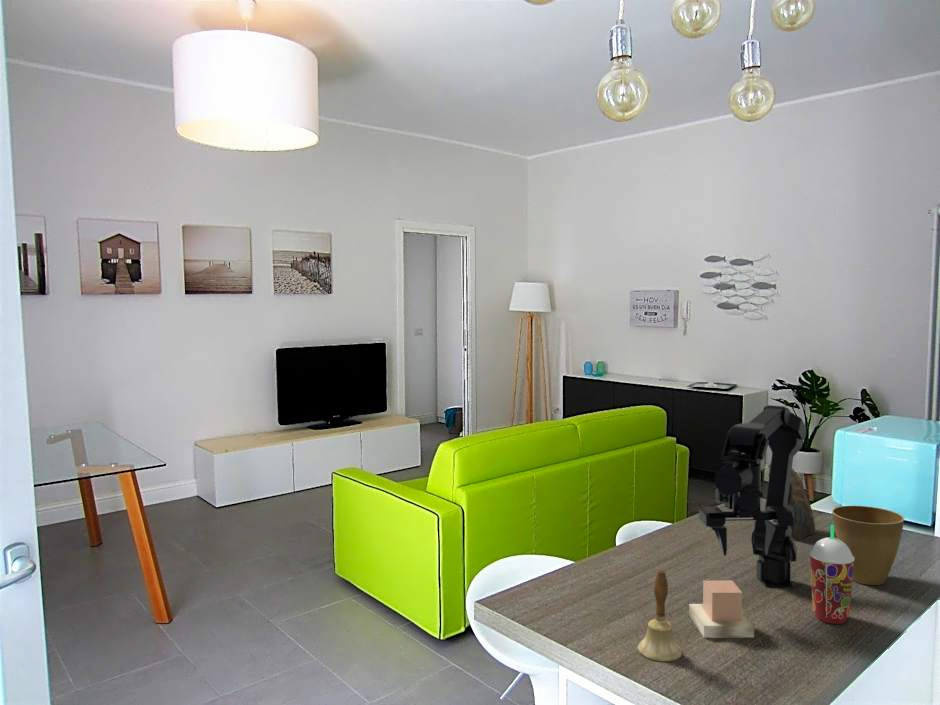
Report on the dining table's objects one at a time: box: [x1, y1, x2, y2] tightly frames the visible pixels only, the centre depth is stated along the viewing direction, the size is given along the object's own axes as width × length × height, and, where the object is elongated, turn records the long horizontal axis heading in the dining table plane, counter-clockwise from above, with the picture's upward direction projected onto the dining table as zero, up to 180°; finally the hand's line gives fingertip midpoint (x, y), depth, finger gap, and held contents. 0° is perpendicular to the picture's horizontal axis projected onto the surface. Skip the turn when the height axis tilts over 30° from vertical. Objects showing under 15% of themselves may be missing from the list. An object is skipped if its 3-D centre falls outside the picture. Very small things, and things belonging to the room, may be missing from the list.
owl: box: [767, 462, 816, 541], centre depth 198 cm, size 13×13×20 cm
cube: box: [702, 580, 743, 621], centre depth 142 cm, size 6×6×6 cm
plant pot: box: [831, 505, 905, 586], centre depth 164 cm, size 15×15×16 cm
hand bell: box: [637, 569, 683, 662], centre depth 133 cm, size 8×8×16 cm
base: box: [688, 603, 755, 639], centre depth 143 cm, size 10×10×3 cm
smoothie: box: [809, 524, 855, 625], centre depth 144 cm, size 8×8×20 cm
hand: (745, 554), depth 150 cm, fingers open, 9 cm apart
